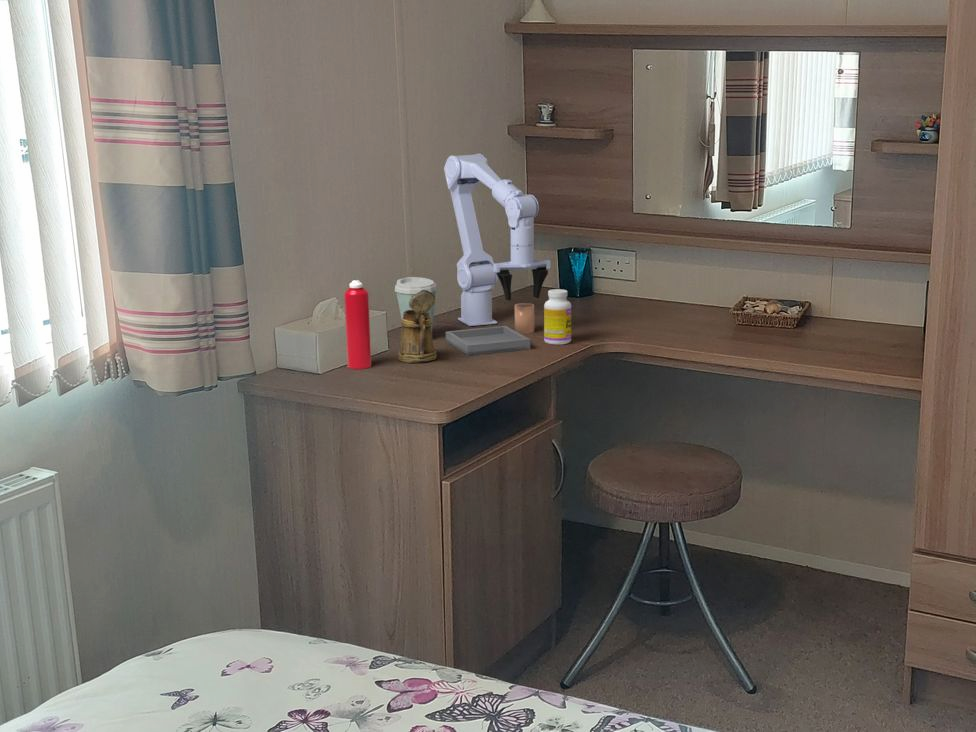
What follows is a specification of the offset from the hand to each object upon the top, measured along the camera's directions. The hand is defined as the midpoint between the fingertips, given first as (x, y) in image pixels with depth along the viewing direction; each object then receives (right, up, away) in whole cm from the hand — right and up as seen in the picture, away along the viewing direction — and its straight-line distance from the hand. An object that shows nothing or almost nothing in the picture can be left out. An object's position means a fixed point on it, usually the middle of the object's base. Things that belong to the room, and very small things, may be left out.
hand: (522, 298), depth 295 cm
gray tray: (-9, -12, -8) cm, 17 cm away
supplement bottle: (+9, -11, -5) cm, 15 cm away
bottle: (-38, -17, -26) cm, 49 cm away
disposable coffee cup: (-26, -10, 0) cm, 28 cm away
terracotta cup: (+1, -8, +6) cm, 10 cm away
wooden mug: (-25, -16, -22) cm, 36 cm away
